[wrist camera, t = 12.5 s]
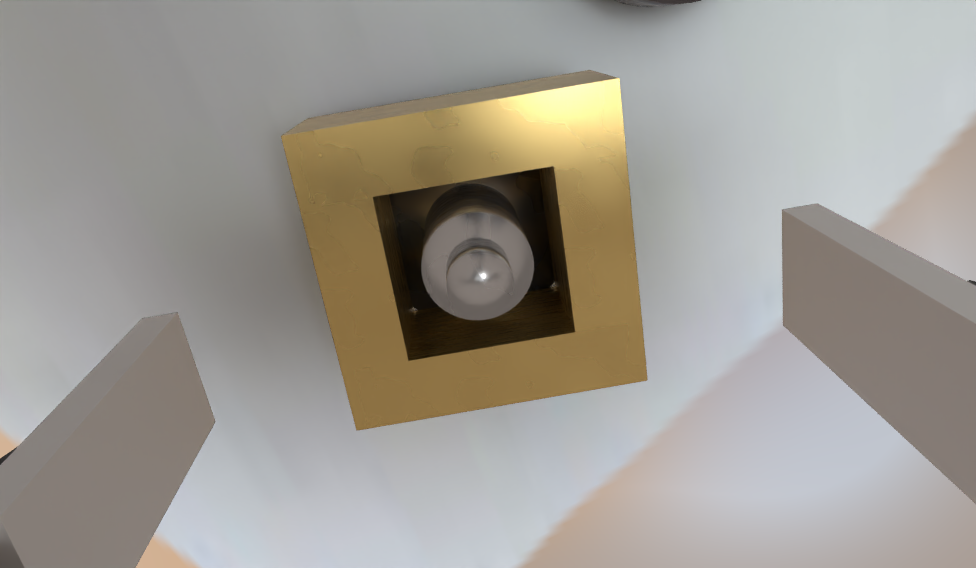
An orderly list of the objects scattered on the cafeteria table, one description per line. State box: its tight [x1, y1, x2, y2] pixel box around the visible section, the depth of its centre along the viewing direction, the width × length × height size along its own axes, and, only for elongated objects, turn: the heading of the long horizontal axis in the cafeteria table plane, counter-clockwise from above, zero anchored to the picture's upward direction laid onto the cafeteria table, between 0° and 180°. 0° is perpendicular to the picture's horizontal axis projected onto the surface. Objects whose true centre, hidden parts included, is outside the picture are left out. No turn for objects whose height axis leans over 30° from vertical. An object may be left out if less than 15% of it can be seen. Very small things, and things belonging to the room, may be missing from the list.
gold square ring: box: [281, 70, 647, 430], centre depth 22 cm, size 9×9×4 cm
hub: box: [389, 169, 554, 320], centre depth 23 cm, size 7×7×8 cm
